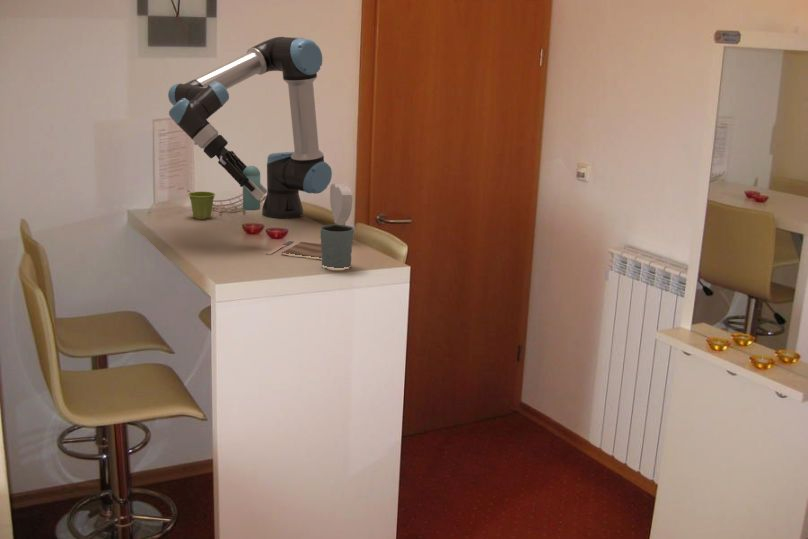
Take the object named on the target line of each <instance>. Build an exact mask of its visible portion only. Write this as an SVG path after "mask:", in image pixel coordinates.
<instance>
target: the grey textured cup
mask: <svg viewBox="0 0 808 539" xmlns="http://www.w3.org/2000/svg"><path fill="white" fill-rule="evenodd" d="M319 230H320V232H319V233H320V244H321V245H322V246H321V250H322V260H321V266H322V265H324V266H327V267H334V268H344V267H349V266H351V265H352V253H353V252H352V251H353V244H354V243H353V242H354V236H355V228H354V227H353V226H350V225H346V224H343V225H337V224H325V225H322V226H320V228H319ZM351 267H352V266H351Z"/></svg>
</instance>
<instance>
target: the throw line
mask: <svg viewBox="0 0 808 539" xmlns="http://www.w3.org/2000/svg"><path fill="white" fill-rule="evenodd" d="M290 243H291V244H293V243H294V241H293V240H289V241H287V242H285V243H283V244H282V245H288V244H290ZM291 244H290V245H291ZM288 246H289V245H288Z"/></svg>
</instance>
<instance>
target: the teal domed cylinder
mask: <svg viewBox="0 0 808 539" xmlns="http://www.w3.org/2000/svg"><path fill="white" fill-rule="evenodd" d="M243 173H244V175H245V176H246V177H247V178H248V179H249V180H251V181H252V182H253V183H254V184H255V185H256V186H257V187H258V188H259V189H260V183H261V171H260V169H259V168H258V167H256V166H255V165H248V166H247V167H246V168H245V169H244V171H243ZM242 209H243V210H244V211H259V210H261V199H260V200H259V201H258V200H257V199H256V198H255V197H254V196H253V195H252V194H251V193H250V192H249V191H248V190H247V189H246V188H245V187H244V185H243V186H242Z"/></svg>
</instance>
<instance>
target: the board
mask: <svg viewBox="0 0 808 539" xmlns="http://www.w3.org/2000/svg"><path fill="white" fill-rule="evenodd" d="M321 246H322V245H321V243H314V242H306V241H300V242H299V243H296V244H295V245H293V246H291V247H290V248H288V249H286V250H284V251H281V253H286V254H289V253H290V254H295V255H302V256H311V257H319V258H322V250H321Z"/></svg>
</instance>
